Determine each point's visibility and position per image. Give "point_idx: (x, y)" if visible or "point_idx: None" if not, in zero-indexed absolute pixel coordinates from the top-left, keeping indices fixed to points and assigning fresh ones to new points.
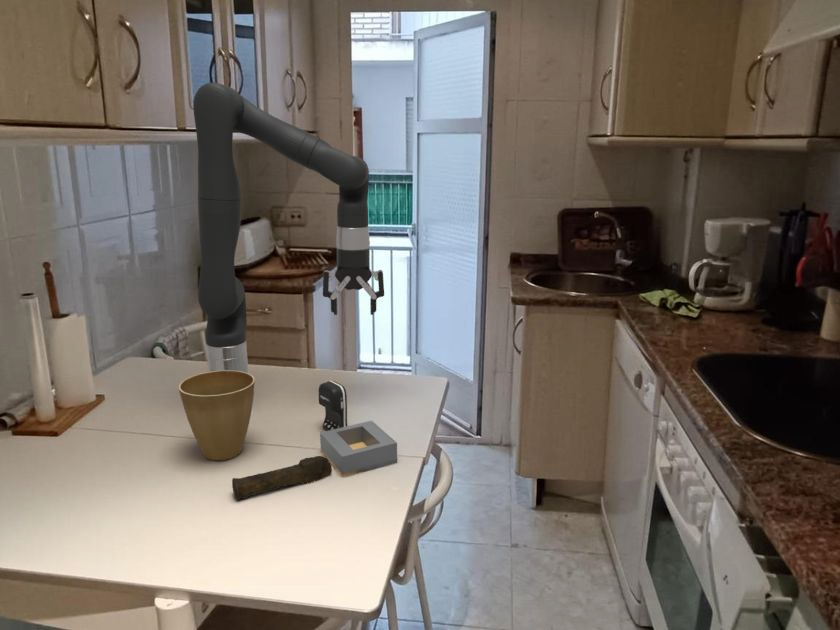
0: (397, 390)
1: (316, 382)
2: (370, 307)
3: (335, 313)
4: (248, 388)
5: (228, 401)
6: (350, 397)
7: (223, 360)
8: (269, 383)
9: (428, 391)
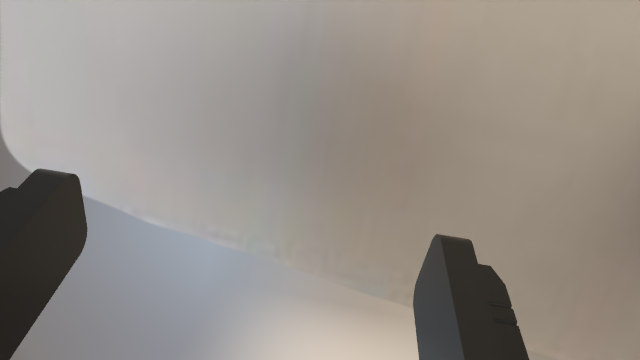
0: (154, 103)
1: (414, 223)
2: (51, 261)
3: (456, 240)
4: None
5: None
6: (325, 85)
7: None
8: (557, 248)
9: (41, 69)
